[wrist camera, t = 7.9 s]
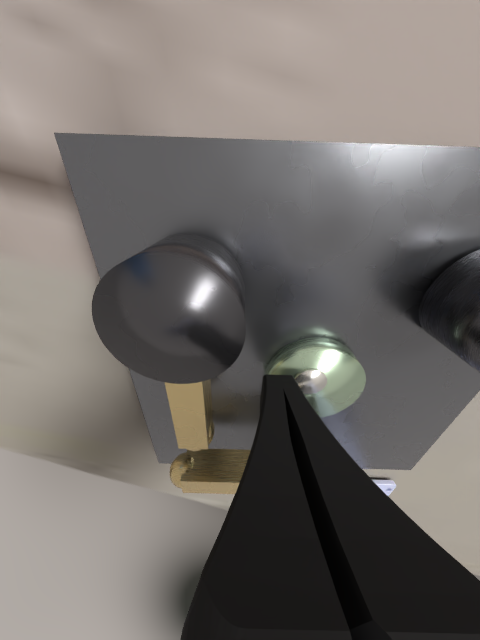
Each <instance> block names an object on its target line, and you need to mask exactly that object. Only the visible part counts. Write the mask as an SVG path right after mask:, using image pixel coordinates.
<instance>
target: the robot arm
mask: <svg viewBox="0 0 480 640" xmlns="http://www.w3.org/2000/svg"><path fill="white" fill-rule="evenodd" d="M395 487H396V485H395V483H394V481H392V480H372V479H371V478H370V477H369V476H368V475H367V474H366V473H365V472H364V471H363V470H362V469H361V467H360V466H359V465H358V464H357V463H356V462H355V461H354V460H353V458H352V457H351V456H350V455H349V454H348V453H347V452H346V450H345V449H344V448H343V447H342V446H341V444H340V443H339V442H338V441H337V439H336V438H335V437H334V436H333V434H332V433H331V432H330V430H329V429H328V428H327V426H326V425H325V424H324V422H323V421H322V420H321V418H320V417H319V415H318V414H317V413H316V411H315V410H314V408H313V407H312V405H311V404H310V403H309V401H308V399H307V398H306V396H305V395H304V393H303V392H302V390H301V389H300V387H299V385H298V384H297V382H296V380H295V378H294V377H293V376H292V375H270V374H265V375H264V376H263V380H262V389H261V397H260V418H259V422H258V426H257V430H256V434H255V437H254V441H253V444H252V448H251V451H250V454H249V457H248V460H247V463H246V466H245V469H244V472H243V475H242V477H241V480H240V483H239V486H238V488H237V491H236V494H235V496H234V498H233V501H232V503H231V506H230V508H229V511H228V513H227V516H226V518H225V521H224V523H223V526H222V528H221V530H220V533H219V535H218V537H217V539H216V542H215V544H214V546H213V548H212V550H211V553H210V555H209V557H208V560H207V562H206V564H205V566H204V569H203V571H202V574H201V578H200V580H199V583H198V586H197V588H196V591H195V594H194V597H193V600H192V603H191V606H190V609H189V611H188V614H187V617H186V620H185V623H184V627H183V630H182V635H181V640H480V581H479V580H478V579H477V578H476V577H475V576H474V575H473V574H471V573H470V572H469V571H468V570H467V569H466V568H465V567H463V566H462V565H461V564H460V563H459V562H458V561H457V560H455V559H454V558H453V557H452V556H451V555H450V554H449V553H447V552H446V551H445V550H444V549H443V548H442V547H441V546H440V545H438V544H437V543H436V542H435V541H434V540H433V539H432V538H431V537H430V536H429V535H428V534H426V533H425V532H424V531H423V530H422V529H421V528H420V527H419V526H418V525H417V524H416V523H415V522H414V521H413V520H412V519H411V518H409V517H408V516H407V515H406V514H405V513H404V512H403V511H402V510H401V509H400V508H399V507H398V506H397V505H396V504H395V503H394V502H393V501H392V500H391V499H390V498H389V497H388V496H389V494H390V493H391V492H392V491H393V490H394V489H395Z"/></svg>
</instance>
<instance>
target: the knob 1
mask: <svg viewBox="0 0 480 640" xmlns="http://www.w3.org/2000/svg"><path fill="white" fill-rule="evenodd" d="M92 316H93V321H94V325H95V328H96V330H97V333H98V335H99V337H100V339H101V340H102V342H103V344H104V345H105V346H106V348H107V349H108V350H109V351H110V352H111V353H112V354H113V355H114V357H115V358H117V359H118V360H119V361H120V362H121V363H122V364H124V365H125V366H127V367H128V368H130V369H131V370H133V371H135V372H137V373H139V374H141V375H143V376H145V377H148V378H151V379H153V380H157V381H161V382H165V387H166V391H167V396H168V401H169V405H170V410H171V415H172V420H173V424H174V429H175V434H176V438H177V443H178V448H180V449H187V450H190V451H200V450H203V449H208V446H209V444H210V443H211V441H212V439H213V436H214V430H215V429H214V423H213V421H212V417H213V413H212V396H211V379H212V378H214V377H216V376H218V375H220V374H221V373H223V372H224V371H226V370H227V369H228V368H229V367H230V366H231V365H232V364H233V363H234V362H235V361H236V359H237V358H238V356H239V355H240V353H241V351H242V349H243V345H244V342H245V336H246V318H245V283H244V277H243V274H242V271H241V269H240V267H239V264H238V263H237V261H236V260H235V258H234V257H233V256H232V255H231V253H230V252H229V251H228V250H227V249H225V248H224V247H223V246H222V245H220V244H219V243H217V242H216V241H214V240H212V239H210V238H207V237H205V236H201V235H197V234H189V233H185V234H176V235H171V236H168V237H166V238H164V239H162V240H160V241H158V242H156V243H155V244H153V245H151V246H149V247H148V248H146V249H144V250H142V251H140V252H139V253H137V254H135V255H133V256H132V257H130V258H128V259H126V260H125V261H123V262H121V263H119V264H118V265H116V266H114V267H113V268H112V269H111V270H109V271H108V272H107V273H106V274H105V275H104V276H103V278H102V279H101V280H100V282H99V284H98V285H97V287H96V290H95V292H94V296H93V301H92Z"/></svg>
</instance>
